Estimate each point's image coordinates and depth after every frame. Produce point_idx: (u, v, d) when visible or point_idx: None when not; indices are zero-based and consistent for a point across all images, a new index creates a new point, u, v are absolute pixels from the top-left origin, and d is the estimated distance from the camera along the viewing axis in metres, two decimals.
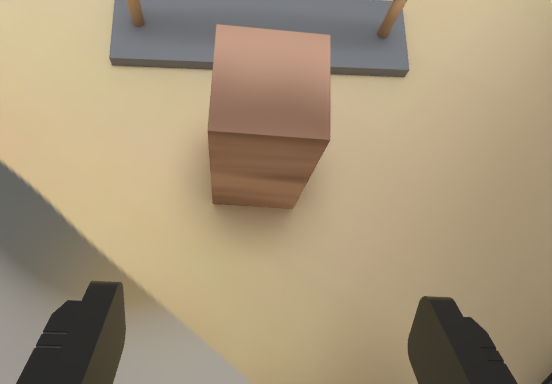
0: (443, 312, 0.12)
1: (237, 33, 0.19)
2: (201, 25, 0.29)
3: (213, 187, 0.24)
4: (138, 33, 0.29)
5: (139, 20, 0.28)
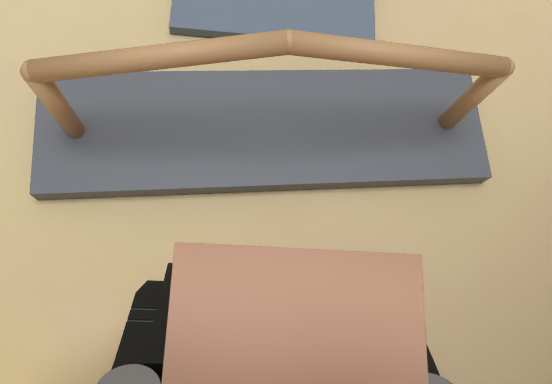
0: None
1: (221, 262, 0.09)
2: (174, 128, 0.19)
3: None
4: (75, 149, 0.18)
5: (76, 131, 0.18)
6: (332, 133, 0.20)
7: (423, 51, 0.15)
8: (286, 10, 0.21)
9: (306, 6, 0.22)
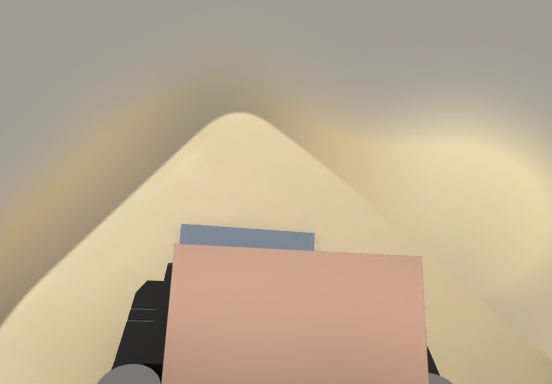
0: None
1: (221, 264, 0.08)
2: None
3: None
4: None
5: None
6: None
7: None
8: None
9: None
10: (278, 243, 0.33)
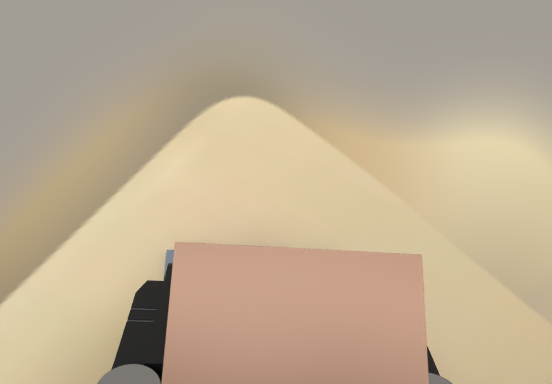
0: None
1: (221, 262, 0.08)
2: None
3: None
4: None
5: None
6: None
7: None
8: None
9: None
10: None
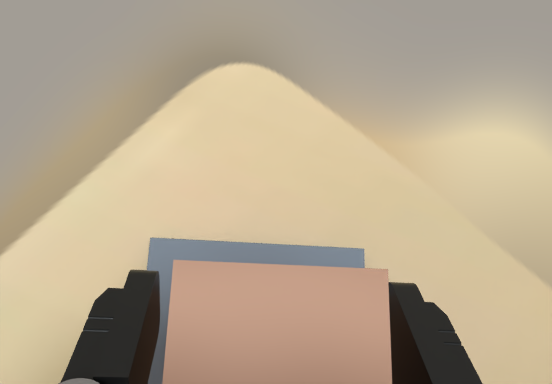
0: (405, 297, 0.12)
1: (213, 277, 0.10)
2: None
3: None
4: None
5: None
6: None
7: None
8: None
9: None
10: None
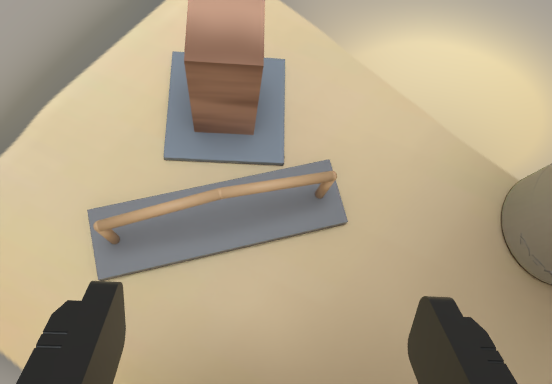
0: (443, 312, 0.12)
1: None
2: (168, 227, 0.34)
3: (193, 114, 0.34)
4: (117, 250, 0.33)
5: (116, 241, 0.33)
6: (256, 213, 0.35)
7: (286, 181, 0.30)
8: (231, 143, 0.37)
9: (243, 140, 0.37)
10: None
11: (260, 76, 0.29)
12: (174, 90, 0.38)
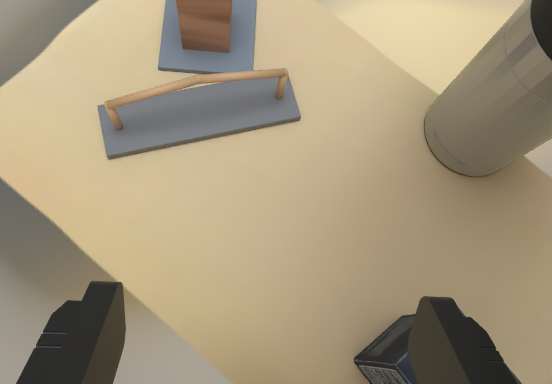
0: (443, 312, 0.12)
1: None
2: (160, 119, 0.44)
3: (181, 30, 0.44)
4: (121, 134, 0.43)
5: (120, 127, 0.43)
6: (229, 109, 0.45)
7: (249, 73, 0.40)
8: (212, 59, 0.47)
9: (221, 57, 0.47)
10: (232, 1, 0.49)
11: None
12: (167, 17, 0.48)
